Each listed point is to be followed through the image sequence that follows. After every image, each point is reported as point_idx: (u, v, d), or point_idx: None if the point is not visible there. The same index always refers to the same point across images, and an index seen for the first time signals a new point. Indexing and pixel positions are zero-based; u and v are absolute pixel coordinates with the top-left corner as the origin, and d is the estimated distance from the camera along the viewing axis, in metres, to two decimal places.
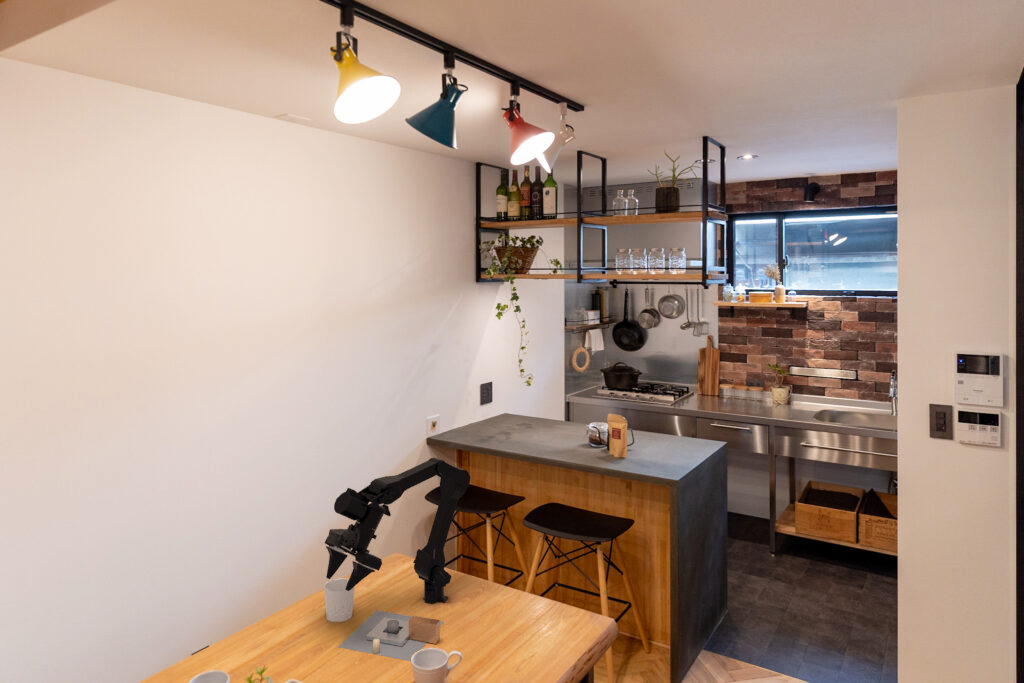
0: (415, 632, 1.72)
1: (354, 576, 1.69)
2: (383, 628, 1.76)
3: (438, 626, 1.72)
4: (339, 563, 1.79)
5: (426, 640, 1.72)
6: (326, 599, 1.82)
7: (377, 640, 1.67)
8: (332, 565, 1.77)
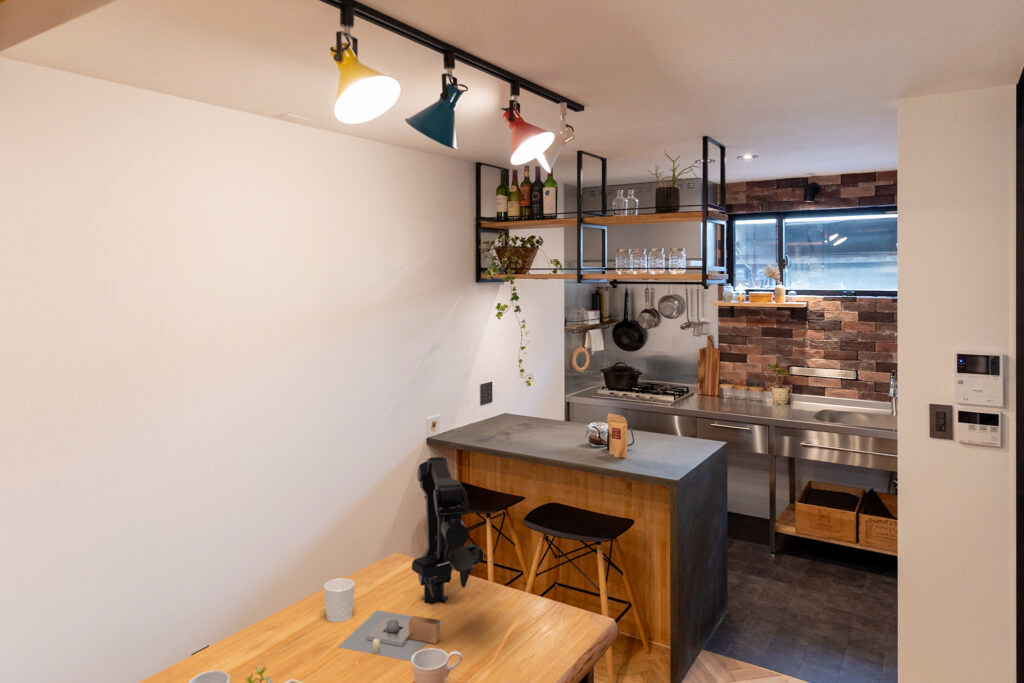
0: (415, 632, 1.72)
1: None
2: (383, 628, 1.76)
3: (438, 626, 1.72)
4: None
5: (426, 640, 1.72)
6: (326, 599, 1.82)
7: (377, 640, 1.67)
8: None
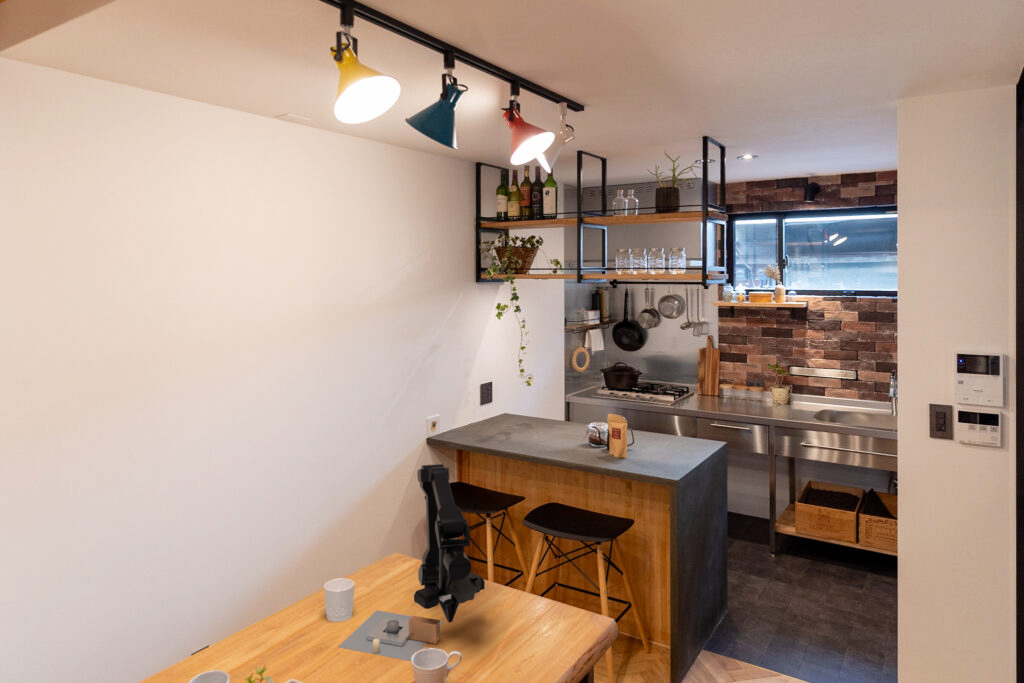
0: (415, 632, 1.72)
1: None
2: (383, 628, 1.76)
3: (438, 626, 1.72)
4: None
5: (426, 640, 1.72)
6: (326, 599, 1.82)
7: (377, 640, 1.67)
8: None
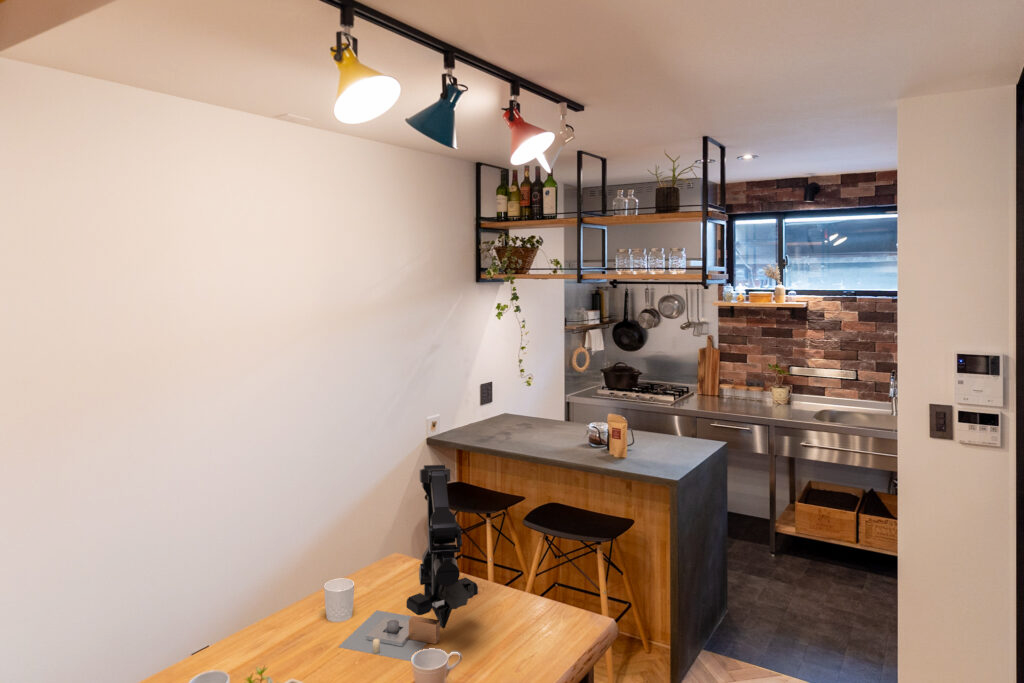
0: (415, 632, 1.72)
1: None
2: (383, 628, 1.76)
3: (438, 626, 1.72)
4: None
5: (426, 640, 1.72)
6: (326, 599, 1.82)
7: (377, 640, 1.67)
8: None
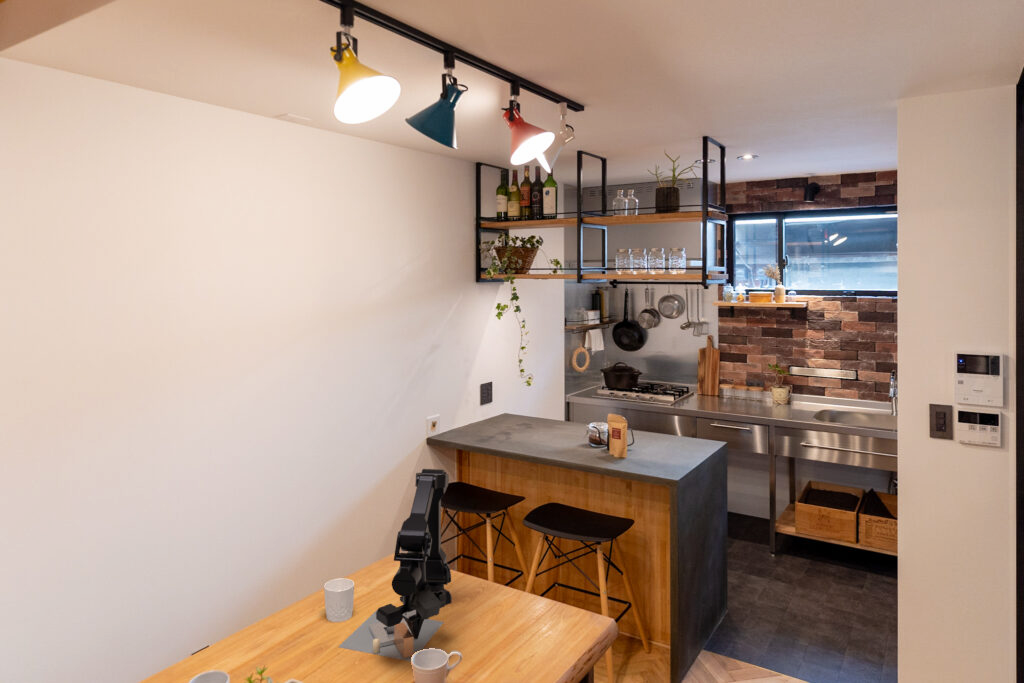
0: (396, 639, 1.69)
1: None
2: None
3: (409, 642, 1.64)
4: None
5: (400, 651, 1.66)
6: (326, 599, 1.82)
7: (377, 640, 1.67)
8: None
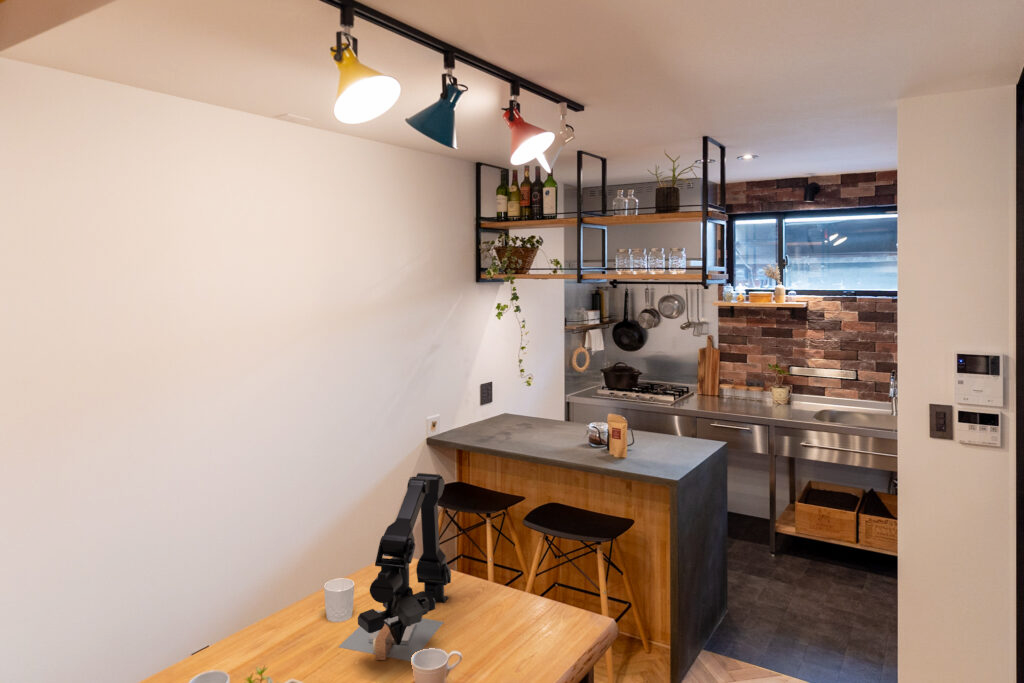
0: None
1: None
2: None
3: (381, 644, 1.63)
4: None
5: None
6: (326, 599, 1.82)
7: None
8: None
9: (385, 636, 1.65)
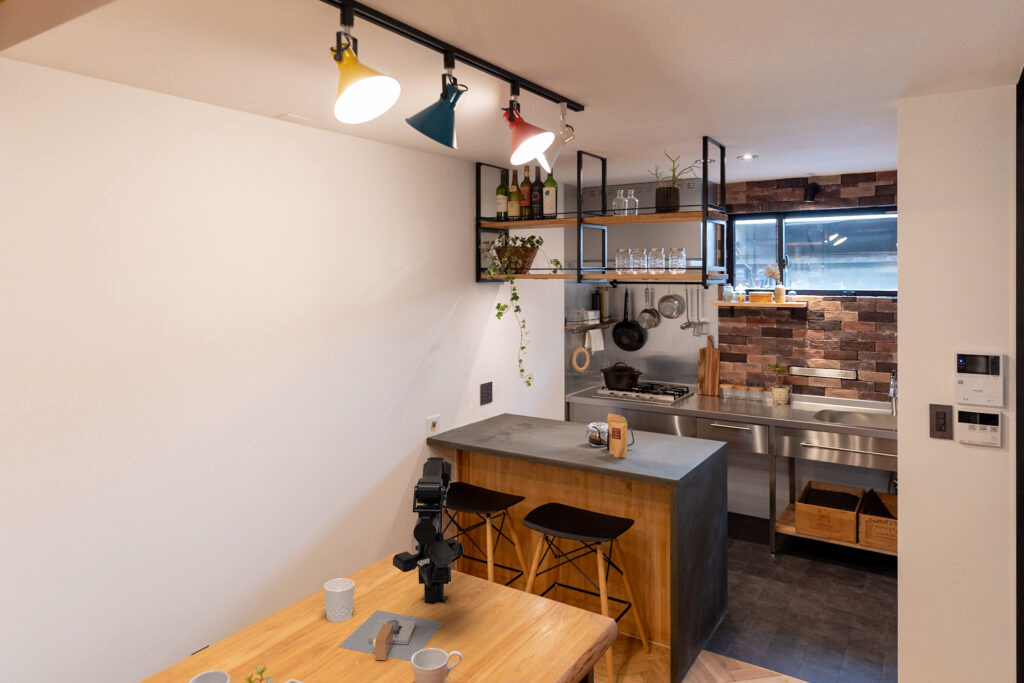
0: None
1: None
2: None
3: (381, 644, 1.63)
4: None
5: None
6: (326, 599, 1.82)
7: None
8: None
9: (385, 636, 1.65)
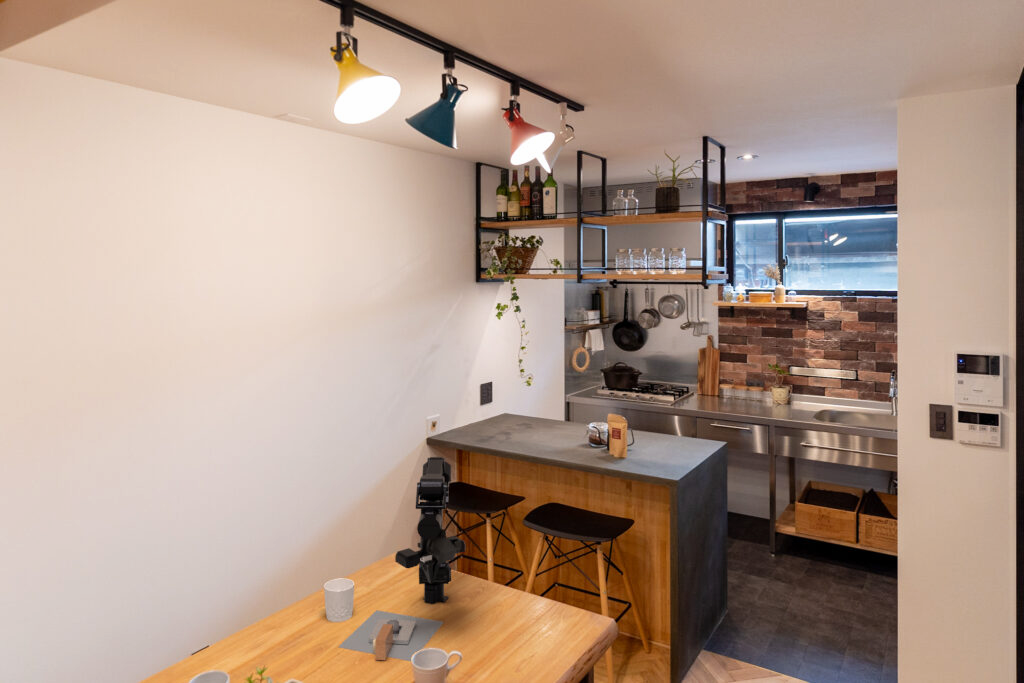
0: None
1: None
2: None
3: (381, 644, 1.63)
4: None
5: None
6: (326, 599, 1.82)
7: None
8: None
9: (385, 636, 1.65)
